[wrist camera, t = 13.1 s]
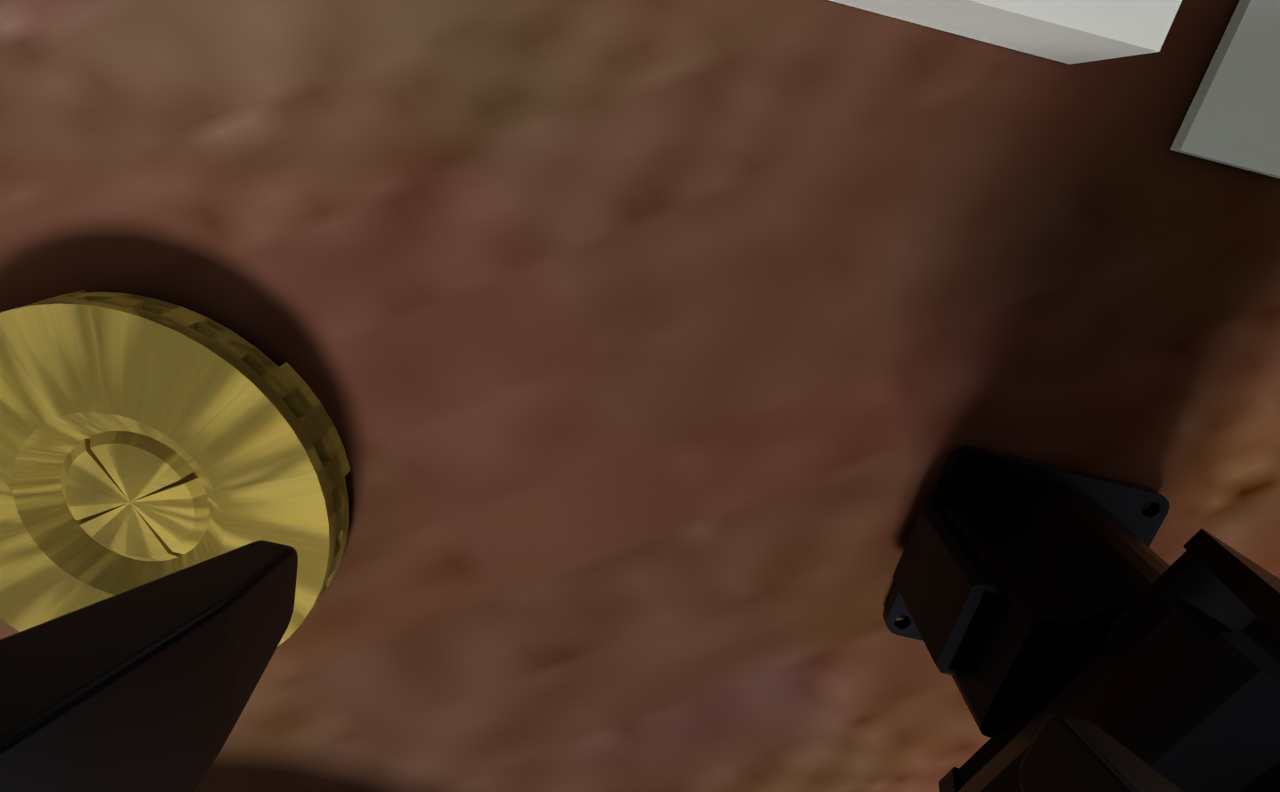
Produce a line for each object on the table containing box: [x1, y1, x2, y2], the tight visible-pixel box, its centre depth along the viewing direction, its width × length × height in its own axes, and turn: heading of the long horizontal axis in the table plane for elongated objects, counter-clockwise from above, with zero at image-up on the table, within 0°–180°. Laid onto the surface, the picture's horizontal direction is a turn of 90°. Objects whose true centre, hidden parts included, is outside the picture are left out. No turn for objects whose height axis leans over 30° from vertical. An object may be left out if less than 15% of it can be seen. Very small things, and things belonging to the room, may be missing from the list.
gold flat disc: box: [0, 290, 351, 647], centre depth 22 cm, size 12×12×2 cm
